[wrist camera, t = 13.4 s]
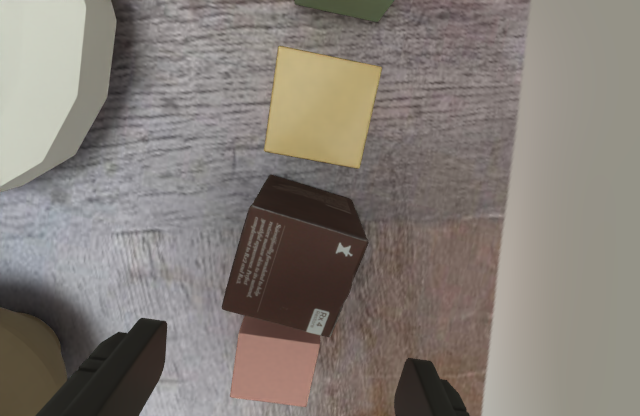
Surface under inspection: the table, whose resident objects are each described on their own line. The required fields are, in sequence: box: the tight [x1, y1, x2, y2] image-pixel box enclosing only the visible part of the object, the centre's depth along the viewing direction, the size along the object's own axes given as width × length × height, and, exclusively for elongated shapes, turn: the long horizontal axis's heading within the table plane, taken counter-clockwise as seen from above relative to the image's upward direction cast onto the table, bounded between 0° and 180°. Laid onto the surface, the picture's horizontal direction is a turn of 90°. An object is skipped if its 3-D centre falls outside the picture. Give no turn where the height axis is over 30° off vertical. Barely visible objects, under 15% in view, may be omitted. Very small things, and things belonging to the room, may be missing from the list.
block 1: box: [230, 316, 320, 407], centre depth 23 cm, size 5×5×5 cm
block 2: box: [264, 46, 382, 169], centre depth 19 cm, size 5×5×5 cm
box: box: [222, 175, 368, 337], centre depth 20 cm, size 6×6×7 cm
